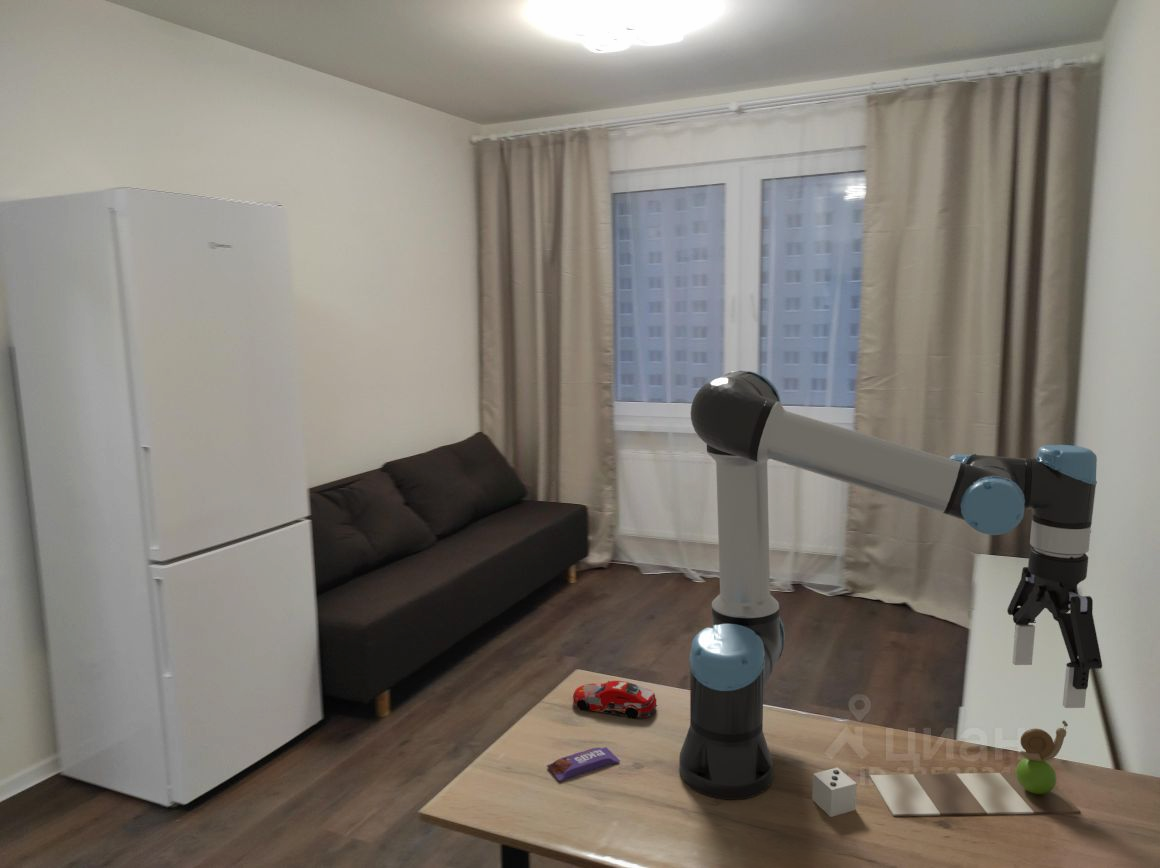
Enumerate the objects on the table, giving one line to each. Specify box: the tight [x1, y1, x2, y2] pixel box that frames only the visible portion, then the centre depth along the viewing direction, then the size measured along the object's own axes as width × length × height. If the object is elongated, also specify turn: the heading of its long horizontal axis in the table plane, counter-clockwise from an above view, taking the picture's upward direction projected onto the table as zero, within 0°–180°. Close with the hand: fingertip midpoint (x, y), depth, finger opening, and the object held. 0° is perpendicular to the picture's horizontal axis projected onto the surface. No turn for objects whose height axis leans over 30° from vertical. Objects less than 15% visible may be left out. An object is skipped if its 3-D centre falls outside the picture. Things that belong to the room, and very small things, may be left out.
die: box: [811, 767, 858, 818], centre depth 123 cm, size 4×4×5 cm
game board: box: [869, 772, 1081, 817], centre depth 125 cm, size 28×10×1 cm, turn 90°
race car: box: [572, 680, 658, 720], centre depth 153 cm, size 16×7×5 cm, turn 69°
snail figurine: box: [1015, 720, 1068, 794], centre depth 124 cm, size 5×6×12 cm
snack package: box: [546, 746, 621, 781], centre depth 135 cm, size 12×2×5 cm
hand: (1046, 684), depth 122 cm, fingers open, 13 cm apart
